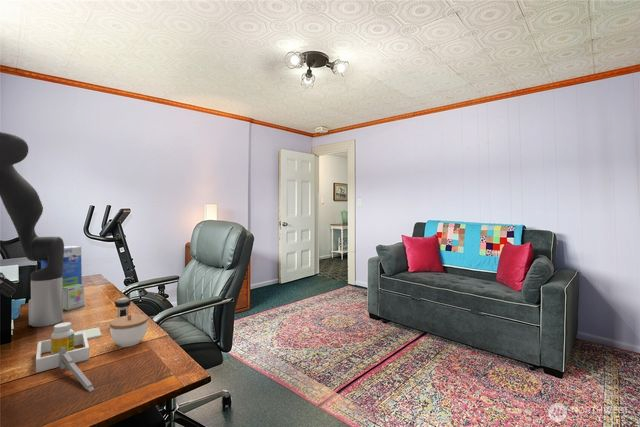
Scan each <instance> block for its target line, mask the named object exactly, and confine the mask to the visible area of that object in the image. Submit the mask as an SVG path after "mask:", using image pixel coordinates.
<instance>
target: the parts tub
mask: <svg viewBox="0 0 640 427" xmlns="http://www.w3.org/2000/svg"><path fill="white" fill-rule="evenodd" d="M80 345H82V347H81V348H77V349H74V350H72V351H67V352H66V353H68V355H69V356H70V357H71V358H72V359H73V362H74V363H75V364H76V363H79V362H83V361H87V360H90V346H89V341H88V339H87V337H86V333H85V332H84V333H79V334H74V347H75V346H80ZM49 352H50V353H51V338H50V339H47V340H41V341H38V342H37V348H36V356H35V372H36V373H40V372H43V371H44V372H45V371H49V370H51V369H55V368H59V354H54V355H46V356H43V357H42V354H44V353H45V354H46V353H49Z"/></svg>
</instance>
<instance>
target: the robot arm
mask: <svg viewBox="0 0 640 427" xmlns="http://www.w3.org/2000/svg"><path fill="white" fill-rule="evenodd" d="M28 154H29V144H27V141H25V139H24V138H22V137H20V136H18V135H16V134H11V133H6V132H2V131H0V199H1V201H2V204H3V206H4V209H5V210H6V213H7V214H8V215H9V217H10V219H11V221H12V222H11V223H12V224H13V226H14V228H15V230H16V233H17V237H18V239H19V242H20V245H21V248H22V251H23V254H24V256H25V257H26V259H27V260H28V261H31V262H41V261H48V265H47V266H46V267H45V268H43V269H41V268H40V269H37V270H35V271H32V272H31V273H30V299H29V300H28V325H29V326H31V327H34V328H39V327H41V328H42V327H49V326H53V325H57V324H60V323H62V321H64V320H63V319H64V310H63V283H62V272H63V259H64V247H65V243H64V240H63V238H62V237H60V236H38V235H37V233H36V230H35V227H36V225H37V223H38V221H39V220H40V218H41V217H42V214H43V212H44V207H43V203H42V201H41V198H40V195H39V194H38V191H36V189H35V187H33V185H32V184H30V182H28V181H27V180H26V179H25V178H24V177H23V176H22V175H21V174H20V173H19V172H18V171H17V170H16V168H15V167H14V165H15V164H19V163H20V162H22V161H23V160H25V159H26V158H27V156H28ZM17 287H18V284H17V283H15V282H13V281H12V280H10V279H9V278H7V277H6V276H5V274H4V272H0V294H1V295H3V296H5V297H7V298H11V297H12V296H13V295H14V294H16V292H17V289H16V288H17Z"/></svg>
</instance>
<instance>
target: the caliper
mask: <svg viewBox="0 0 640 427" xmlns="http://www.w3.org/2000/svg"><path fill="white" fill-rule="evenodd" d="M58 368H59V369H60V370H61V371H63V370H67V371H70V372H71V373H72V375H74V377H75V378H76V379H77V381H78V382H79V383H80V384H81V385H82V387H83V388H84V389H85V390H86V391H88V392H90V393H91V392H93V391H95V388H94V386H93V383H92V382H91V381H90V380H89V379H88V378H87V376H86V375H85V374H84V373H83V371H82V370H81V369H80V368H79V367H78V365H77V364H76V363H74V362H73V359H72V358H71V357H70V356H69V355H68V353H66V349H65V346H64V347H61V348H60V351H59V367H58Z"/></svg>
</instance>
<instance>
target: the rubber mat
mask: <svg viewBox="0 0 640 427" xmlns="http://www.w3.org/2000/svg"><path fill="white" fill-rule="evenodd" d="M84 332H85V333H86V337H87V340H91V339H95V338H99V337H102V332H101V330H100V326H98V327H94V328H93V327H92V328H88V329H82V330H78V331H74V334H79V333H84Z"/></svg>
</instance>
